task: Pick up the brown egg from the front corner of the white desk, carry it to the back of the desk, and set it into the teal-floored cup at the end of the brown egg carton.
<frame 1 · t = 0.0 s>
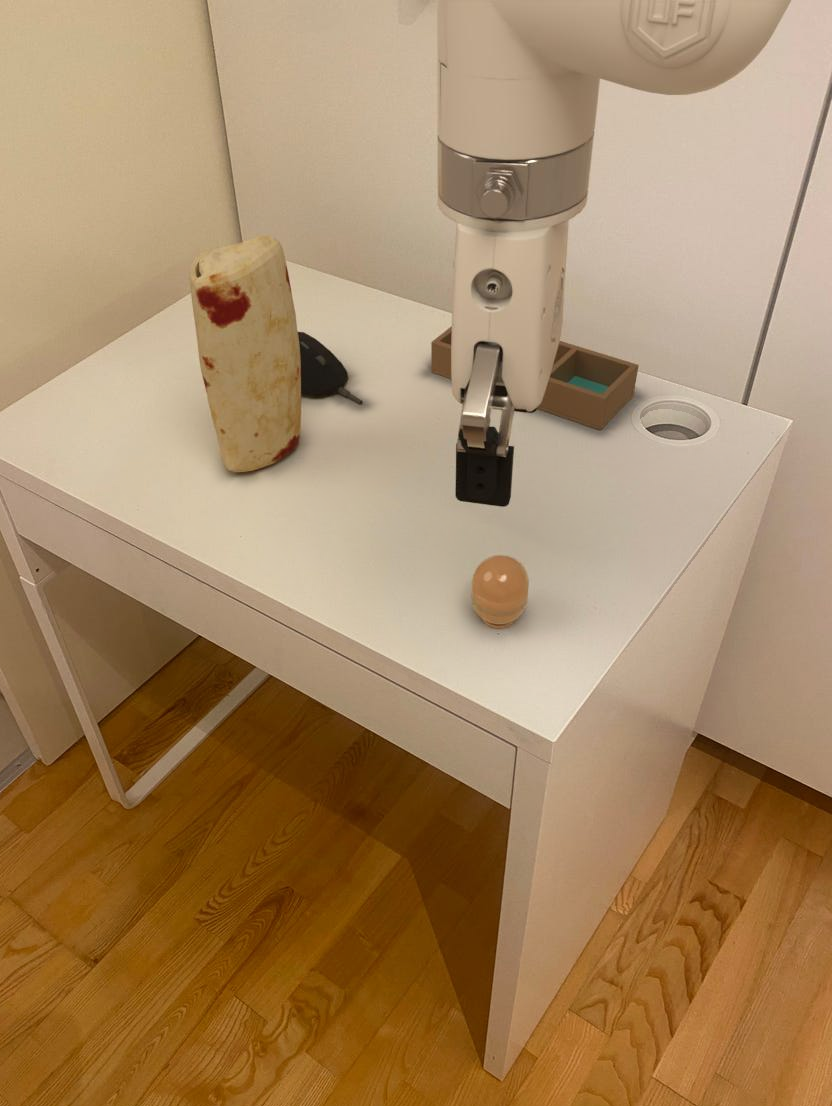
hand: (498, 452, 62), 17 cm above the table, tool pointing down, fingers open, 9 cm apart
egg: (498, 616, 76), on the table
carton: (529, 383, 97), on the table
food model: (265, 456, 92), on the table
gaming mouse: (308, 380, 101), on the table
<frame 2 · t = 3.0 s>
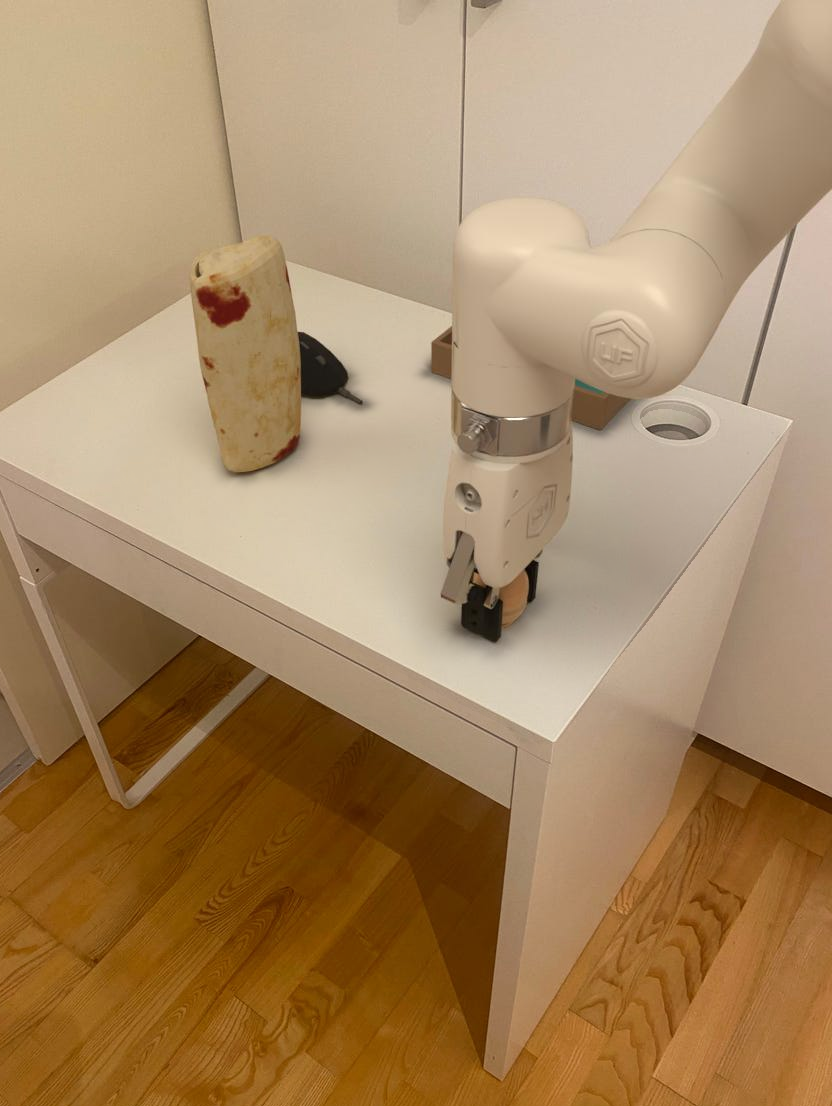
hand: (498, 611, 76), 1 cm above the table, tool pointing down, fingers closed on egg, 4 cm apart
egg: (498, 616, 76), on the table, touching gripper
everything else where it was.
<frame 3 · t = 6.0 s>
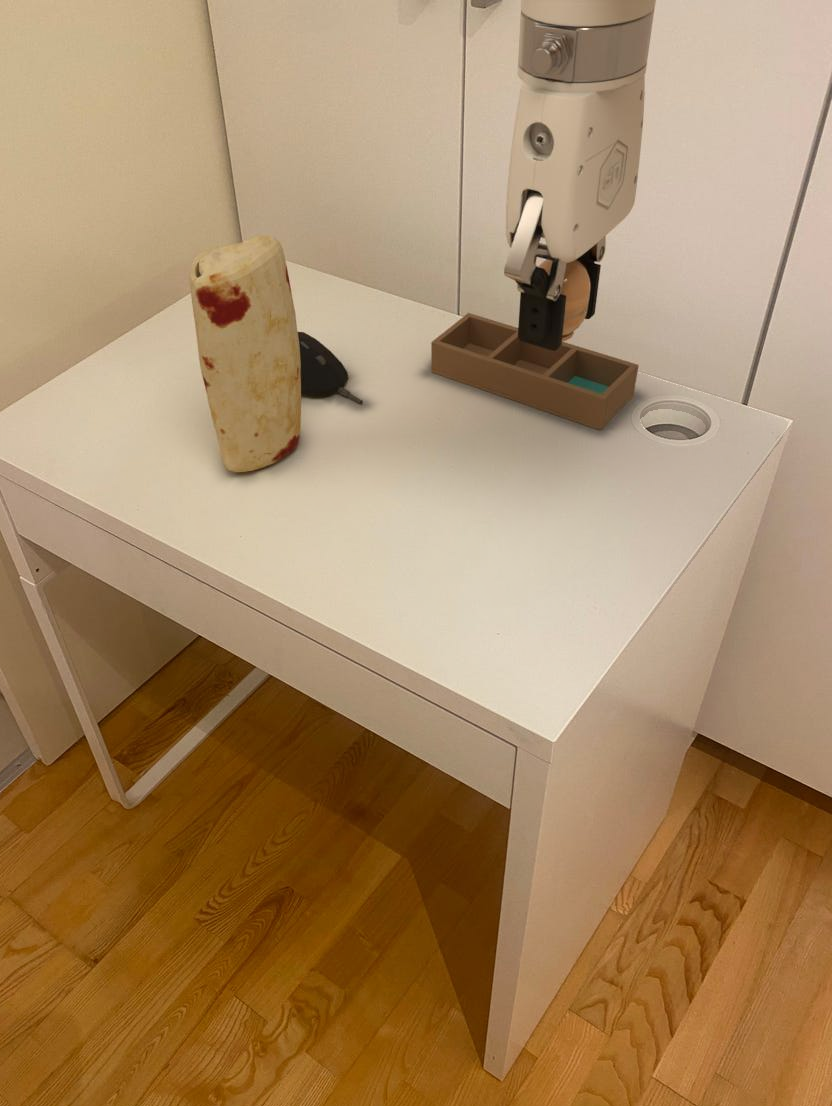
hand: (556, 326, 71), 17 cm above the table, tool pointing down, fingers closed on egg, 4 cm apart
egg: (555, 332, 71), point 17 cm above the table, touching gripper
everything else where it was.
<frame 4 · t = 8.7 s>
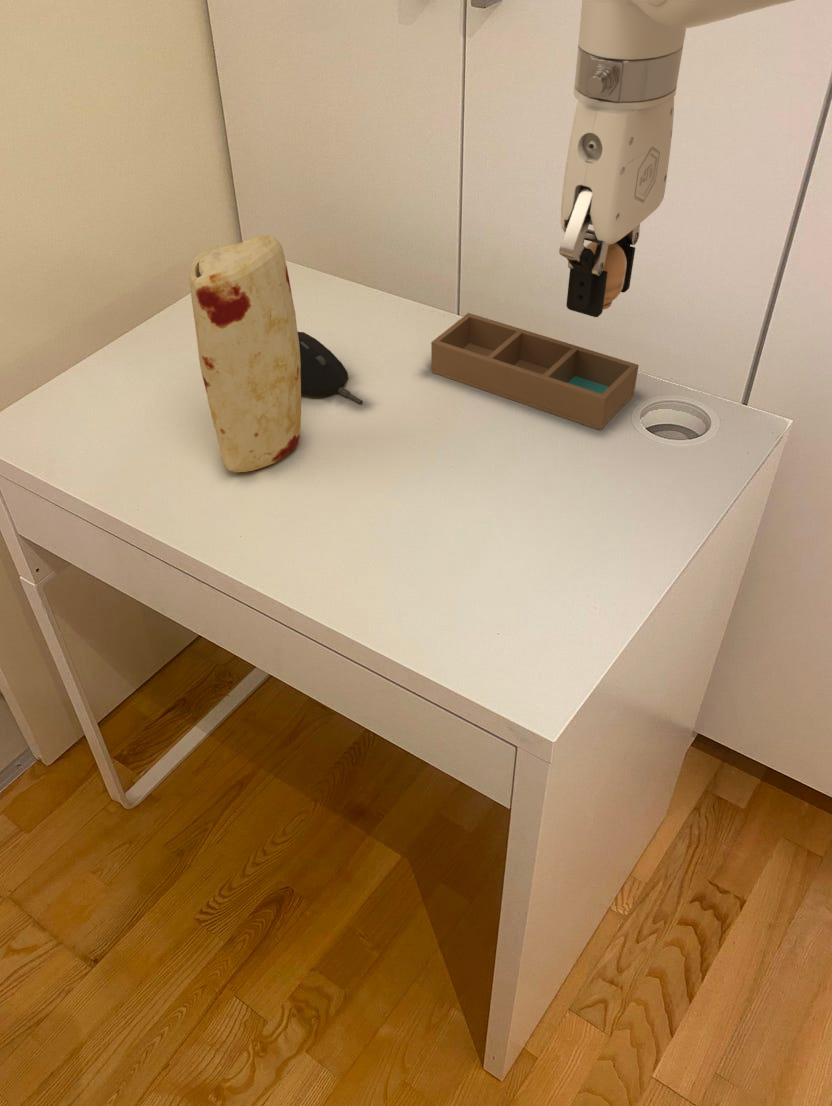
hand: (597, 297, 87), 11 cm above the table, tool pointing down, fingers closed on egg, 4 cm apart
egg: (596, 302, 87), point 10 cm above the table, touching gripper
everything else where it was.
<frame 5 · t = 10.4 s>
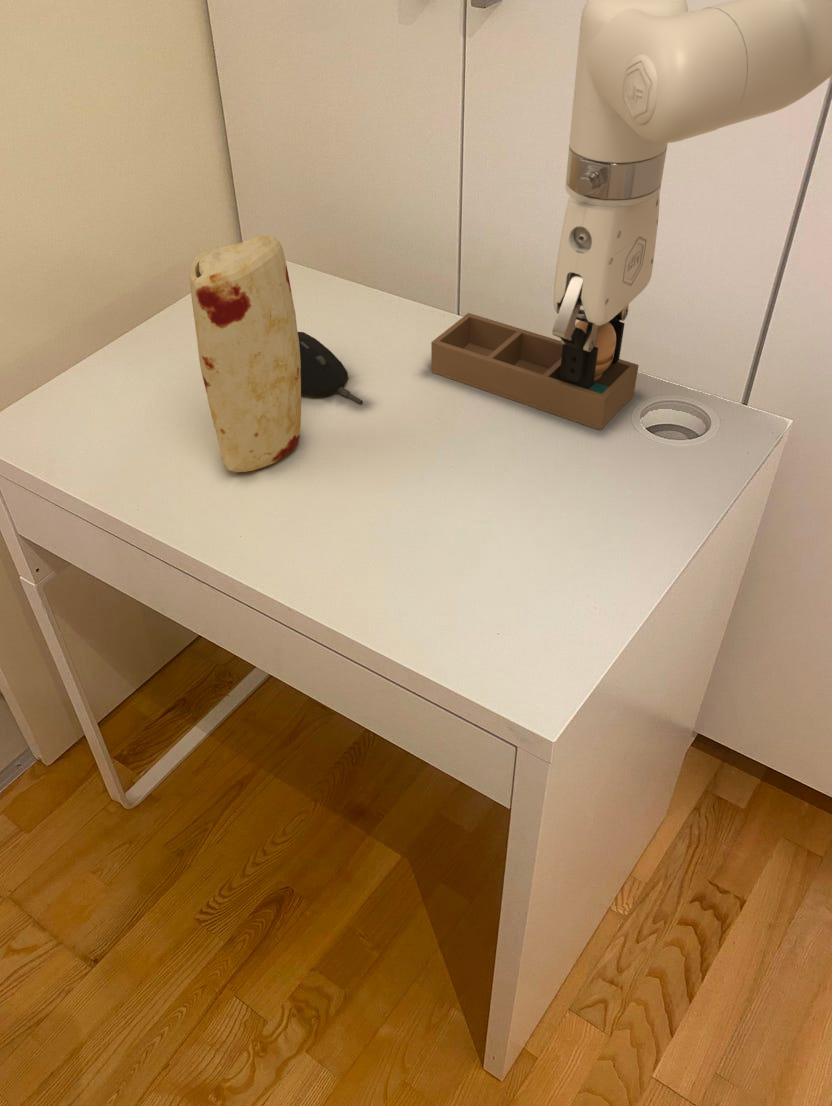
hand: (589, 368, 92), 4 cm above the table, tool pointing down, fingers closed on egg, 4 cm apart
egg: (588, 373, 92), point 3 cm above the table, touching gripper
everything else where it was.
when the fingers open (4 cm above the table, at t = 14.4 s): egg drops 3 cm, resting on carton.
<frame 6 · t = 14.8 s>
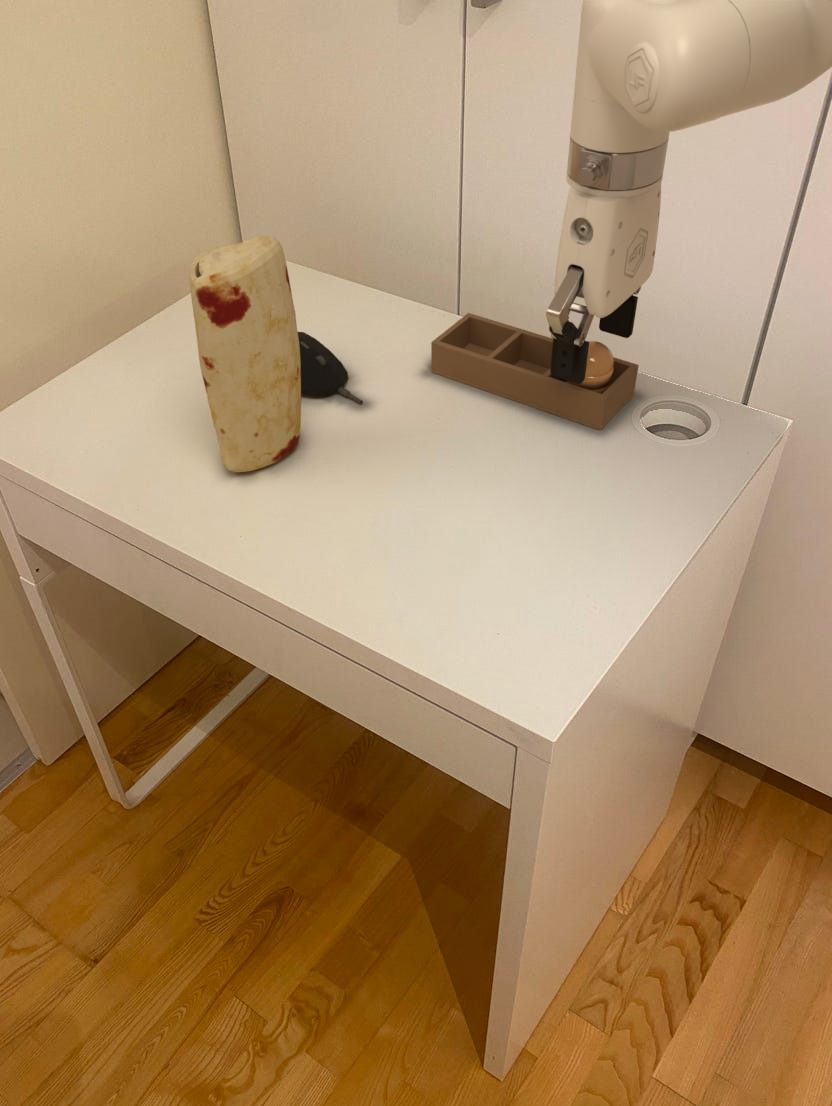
hand: (591, 354, 91), 5 cm above the table, tool pointing down, fingers open, 8 cm apart
egg: (586, 397, 94), point 1 cm above the table, touching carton
everything else where it was.
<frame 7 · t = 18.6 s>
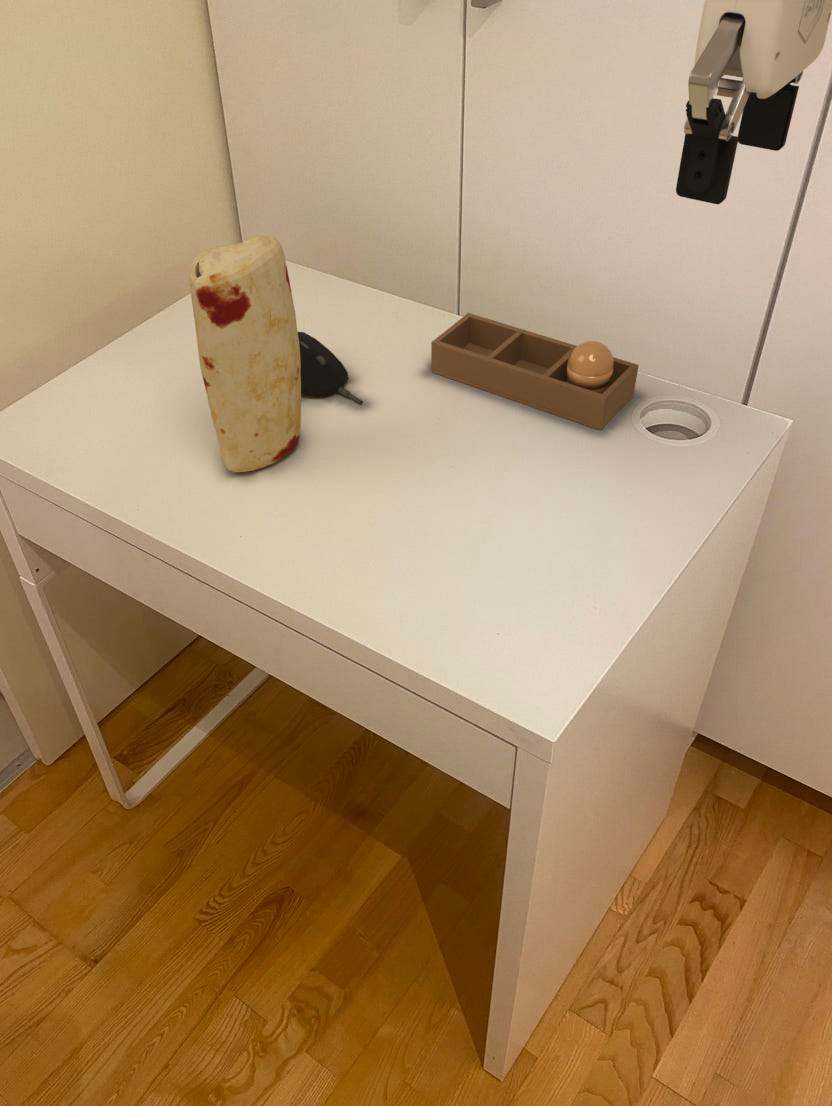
hand: (731, 171, 66), 26 cm above the table, tool pointing down, fingers open, 9 cm apart
nothing on the table moved.
at the end: egg 0.0 cm from the target spot in the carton, point 0.6 cm above the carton's base; egg tilted 0°; the gripper is holding nothing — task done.
